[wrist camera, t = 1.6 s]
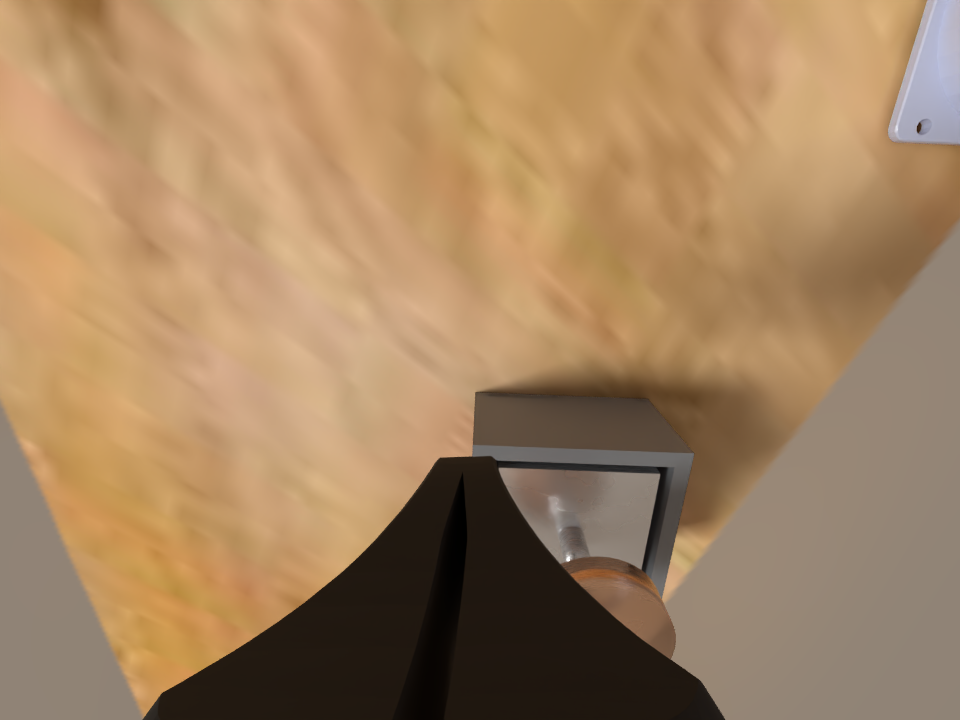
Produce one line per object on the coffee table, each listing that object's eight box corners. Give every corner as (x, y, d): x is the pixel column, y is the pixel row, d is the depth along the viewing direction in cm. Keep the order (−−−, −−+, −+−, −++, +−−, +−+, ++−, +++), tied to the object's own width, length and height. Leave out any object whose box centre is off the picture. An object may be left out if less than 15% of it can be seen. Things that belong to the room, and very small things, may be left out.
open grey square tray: (646, 397, 21) (694, 453, 16) (622, 536, 23) (656, 620, 19) (475, 390, 21) (473, 444, 16) (470, 530, 23) (466, 613, 19)
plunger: (654, 465, 17) (723, 569, 12) (631, 586, 19) (682, 718, 14) (498, 458, 17) (504, 561, 12) (491, 581, 19) (493, 711, 14)
